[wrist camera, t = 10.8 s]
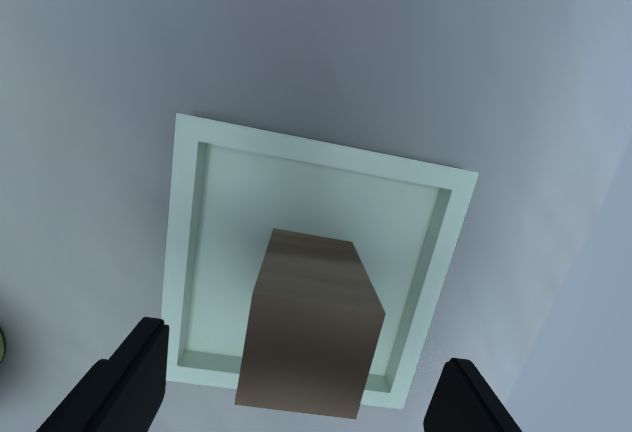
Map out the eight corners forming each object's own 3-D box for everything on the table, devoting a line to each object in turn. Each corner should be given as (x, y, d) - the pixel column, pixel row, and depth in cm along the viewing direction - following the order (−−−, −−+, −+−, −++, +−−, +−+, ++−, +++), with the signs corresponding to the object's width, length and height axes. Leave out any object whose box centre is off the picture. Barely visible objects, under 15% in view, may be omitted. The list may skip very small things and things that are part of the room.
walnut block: (273, 228, 19) (252, 293, 11) (352, 241, 19) (386, 313, 11) (261, 300, 20) (234, 404, 12) (335, 311, 20) (355, 419, 13)
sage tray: (191, 115, 17) (176, 112, 15) (460, 168, 19) (479, 172, 17) (170, 356, 21) (156, 379, 19) (393, 385, 23) (402, 409, 21)
